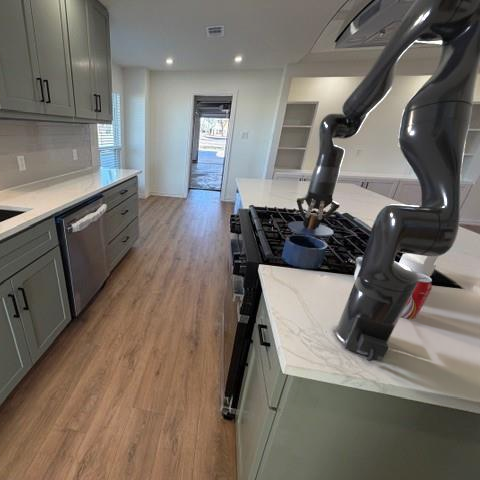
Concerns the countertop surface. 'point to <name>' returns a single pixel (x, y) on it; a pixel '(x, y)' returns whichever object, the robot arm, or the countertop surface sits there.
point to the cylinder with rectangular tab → (419, 263)
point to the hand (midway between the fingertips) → (310, 227)
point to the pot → (304, 251)
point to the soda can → (418, 296)
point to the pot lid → (310, 228)
